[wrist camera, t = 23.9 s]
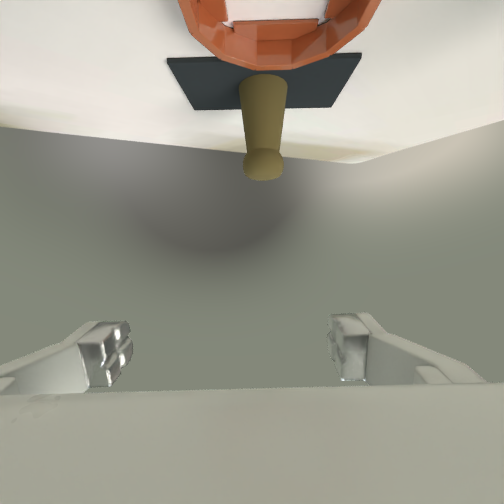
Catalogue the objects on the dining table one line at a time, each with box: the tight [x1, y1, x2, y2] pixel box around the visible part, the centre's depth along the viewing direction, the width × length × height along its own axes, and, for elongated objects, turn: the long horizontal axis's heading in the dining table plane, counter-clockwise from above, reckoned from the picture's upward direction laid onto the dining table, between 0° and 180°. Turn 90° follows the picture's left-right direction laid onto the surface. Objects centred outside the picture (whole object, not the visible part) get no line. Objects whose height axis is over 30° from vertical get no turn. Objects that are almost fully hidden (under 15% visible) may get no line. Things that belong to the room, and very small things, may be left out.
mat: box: [167, 53, 362, 110], centre depth 31 cm, size 20×11×1 cm, turn 92°
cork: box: [239, 74, 288, 181], centre depth 32 cm, size 6×6×11 cm
